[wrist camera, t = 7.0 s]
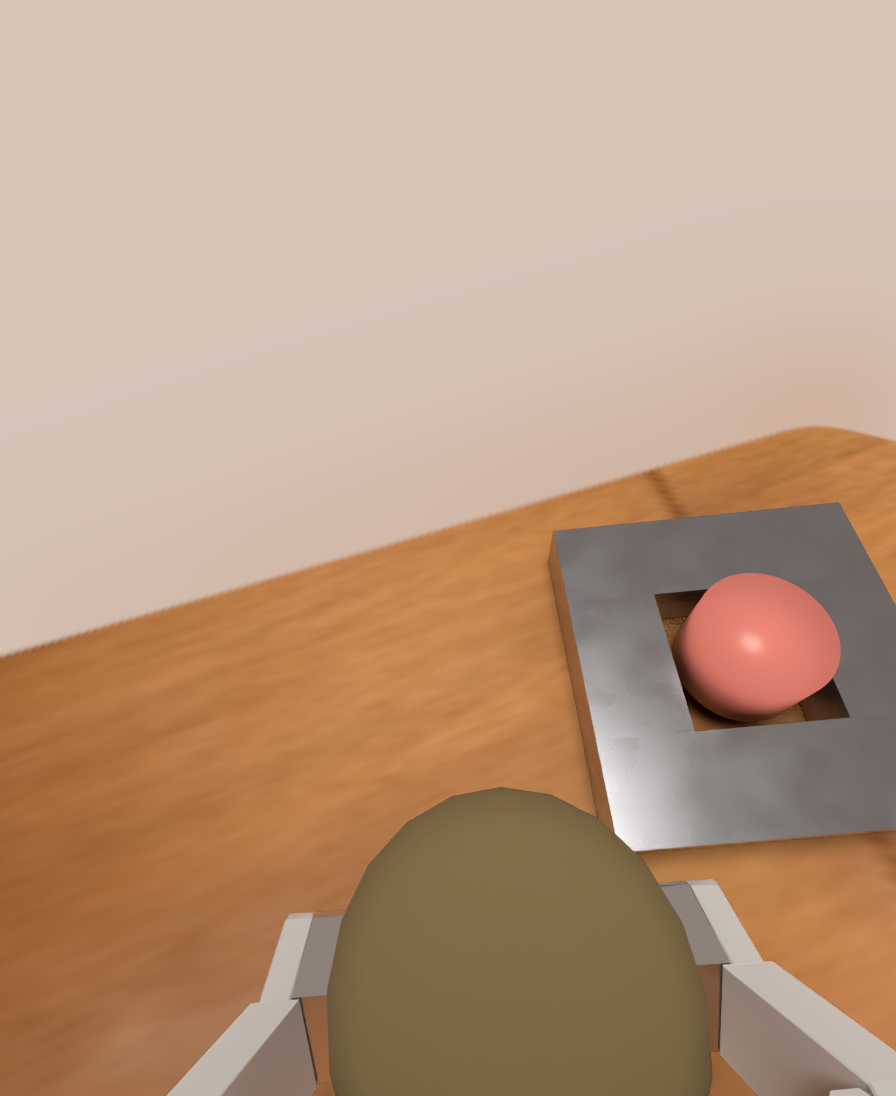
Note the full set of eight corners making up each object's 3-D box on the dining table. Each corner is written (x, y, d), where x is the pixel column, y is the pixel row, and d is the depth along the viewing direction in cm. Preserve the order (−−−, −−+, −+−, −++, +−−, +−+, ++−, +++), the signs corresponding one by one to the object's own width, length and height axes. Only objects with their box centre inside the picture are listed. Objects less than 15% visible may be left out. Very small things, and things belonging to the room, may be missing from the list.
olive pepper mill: (471, 778, 18) (453, 662, 9) (645, 906, 16) (869, 937, 7) (352, 965, 16) (147, 1085, 6) (537, 1146, 13) (647, 1734, 4)
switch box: (604, 855, 26) (619, 852, 23) (548, 561, 34) (553, 531, 31) (951, 826, 25) (1012, 818, 22) (808, 535, 34) (839, 502, 31)
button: (692, 727, 27) (721, 704, 23) (659, 613, 30) (680, 579, 26) (818, 715, 26) (865, 691, 23) (771, 603, 30) (806, 567, 26)
